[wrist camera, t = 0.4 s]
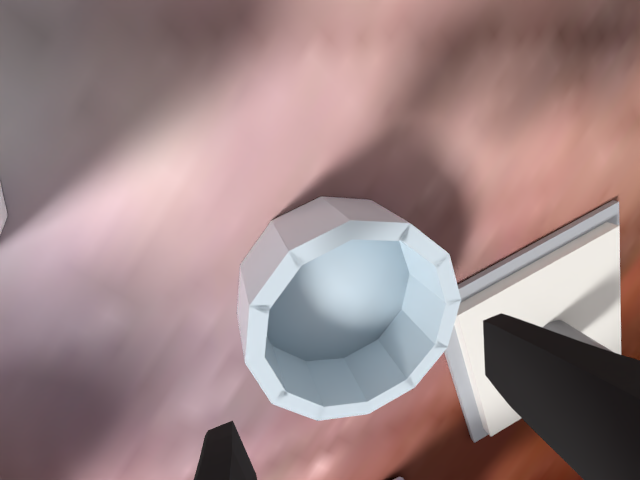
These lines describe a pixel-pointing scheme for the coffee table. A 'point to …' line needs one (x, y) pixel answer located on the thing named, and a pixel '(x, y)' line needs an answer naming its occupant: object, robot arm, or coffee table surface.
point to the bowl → (343, 307)
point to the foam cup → (2, 210)
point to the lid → (547, 309)
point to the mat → (497, 274)
